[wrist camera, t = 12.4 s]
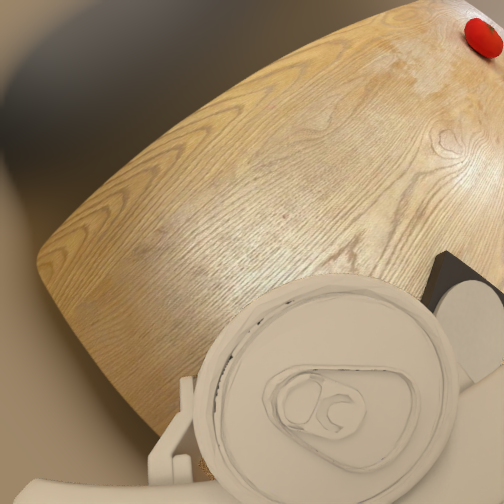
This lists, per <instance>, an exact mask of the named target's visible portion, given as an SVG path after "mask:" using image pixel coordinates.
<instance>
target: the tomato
mask: <svg viewBox="0 0 504 504" xmlns="http://www.w3.org/2000/svg"><path fill="white" fill-rule="evenodd" d="M464 32H465V37H466V40H467V42H468V44H469V45H470V46H471V47H472V48H473V49H474V50H476V51H477V52H478V53H479V54H481V55H483V56H484V57H486V58H496V57H497V56H499V55H500V54H501V52H502V49H503V41H502V39H501V37H500V36H499V35H498V33H497V32H496V31H495V29H494V28H493V27H492V26H491V25H489V24H487V23H486V22H484V21H482V20H481V19H479V18H474V19H470V20H469V21H468V22H467V23H466V26H465V29H464Z"/></svg>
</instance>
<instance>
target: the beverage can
mask: <svg viewBox="0 0 504 504" xmlns="http://www.w3.org/2000/svg"><path fill="white" fill-rule="evenodd" d="M459 388H460V385H459V374H458V365H457V361H456V357H455V354H454V350H453V348H452V346H451V344H450V341H449V339H448V337H447V335H446V333H445V331H444V329H443V328H442V326H441V324H440V323H439V321H438V320H437V319H436V317H435V316H434V315H433V314H432V313H431V312H430V311H429V310H428V309H427V308H426V307H425V306H424V305H423V304H422V303H421V302H420V301H419V300H417V299H416V298H415V297H414V296H412V295H411V294H409V293H408V292H406V291H404V290H402V289H400V288H398V287H396V286H394V285H392V284H390V283H387V282H385V281H383V280H380V279H378V278H374V277H369V276H363V275H356V274H350V273H328V274H320V275H312V276H309V277H305V278H301V279H298V280H294V281H291V282H288V283H286V284H283V285H281V286H279V287H276V288H274V289H272V290H270V291H268V292H267V293H265V294H263V295H261V296H260V297H258V298H257V299H255V300H254V301H253V302H251V303H250V304H248V305H247V306H245V307H244V308H243V309H242V310H241V311H240V312H239V313H238V314H237V315H236V316H235V317H234V318H233V319H232V320H231V321H230V322H229V323H228V324H227V325H226V326H225V327H224V328H223V330H222V331H221V332H220V333H219V335H218V336H217V338H216V339H215V341H214V342H213V344H212V345H211V347H210V348H209V350H208V352H207V354H206V356H205V359H204V361H203V363H202V366H201V368H200V370H199V373H198V377H197V382H196V386H195V391H194V396H193V423H194V432H195V436H196V440H197V443H198V446H199V449H200V452H201V454H202V457H203V458H204V460H205V462H206V464H207V466H208V468H209V470H210V472H211V473H212V474H213V475H214V477H215V478H216V479H217V481H218V482H219V483H220V484H221V486H222V487H223V488H224V489H225V490H226V491H227V492H229V493H230V494H231V495H232V496H234V497H235V498H236V499H237V500H239V501H240V502H241V503H243V504H391V503H392V502H394V501H395V500H397V499H398V498H400V497H401V496H403V495H404V494H405V493H407V492H408V491H409V490H410V489H411V488H412V487H413V486H414V485H415V484H416V483H417V482H418V481H419V480H420V479H421V478H422V477H423V476H424V475H425V474H426V473H427V472H428V471H429V470H430V468H431V467H432V466H433V464H434V463H435V461H436V460H437V458H438V457H439V455H440V454H441V452H442V450H443V449H444V447H445V445H446V443H447V441H448V439H449V436H450V434H451V431H452V428H453V425H454V421H455V417H456V413H457V409H458V401H459Z"/></svg>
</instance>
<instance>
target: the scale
mask: <svg viewBox="0 0 504 504" xmlns="http://www.w3.org/2000/svg"><path fill="white" fill-rule="evenodd" d="M421 303H422V304H423V305H424V306H425V307H426V308H427V309H428V310H429V311H430V312H431V313H432V314H433V315H434V316H435V317H436V319H437V320H438V321H439V323H440V324H441V326H442V328H443V329H444V331H445V333H446V335H447V337H448V339H449V341H450V344H451V346H452V348H453V350H454V354H455V357H456V361H457V363H459V364H460V365H461V366H462V367H463V368H464V370H465V371H466V372H467V374H468V375H469V376H470V377H471V379H472V380H473V381H474V383H477V382H478V381H480V380H481V379H483V378H484V377H486V376H487V375H489V374H490V373H492V372H493V371H494V370H496V369H497V368H499V367H500V366H501V364H502V361H503V359H504V294H503V293H502V292H501V291H500V290H498V289H497V288H496V287H495V286H493V285H492V284H491V283H490V282H488V281H487V280H486V279H485V278H483V277H482V276H481V275H479V274H478V273H477V272H475V271H474V270H473V269H471V268H470V267H469V266H467V265H466V264H465V263H463V262H462V261H461V260H459V259H458V258H457V257H455V256H454V255H452V254H451V253H450V252H448V251H447V250H446V251H444V252H442V253H440V254H438V255H437V256H436V258H435V262H434V265H433V268H432V271H431V274H430V277H429V280H428V283H427V286H426V288H425V291H424V294H423V297H422V299H421Z"/></svg>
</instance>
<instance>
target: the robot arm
mask: <svg viewBox="0 0 504 504" xmlns="http://www.w3.org/2000/svg"><path fill="white" fill-rule="evenodd" d="M457 365H458V374H459V385H460V388H459V401H458V409H457V413H456V417H455V421H454V425H453V428H452V431H451V434H450V436H449V439H448V441H447V443H446V445H445V447H444V449H443V450H442V452H441V454H440V455H439V457H438V458H437V460H436V461H435V463H434V464H433V466H432V467H431V468H430V470H429V471H428V472H427V473H426V474H425V475H424V476H423V477H422V478H421V479H420V480H419V481H418V482H417V483H416V484H415V485H414V486H413V487H412V488H411V489H410V490H409V491H408V492H407V493H405V494H404V495H403V496H401V497H400V498H398V499H397V500H395V501H394V502H392V503H391V504H504V364H503V365H501V366H500V367H499V368H497V369H496V370H494V371H493V372H492V373H490V374H489V375H487V376H486V377H484V378H483V379H481V380H480V381H478V382H477V383H474V381H473V380H472V379H471V377H470V376H469V375H468V374H467V372H466V371H465V370H464V368H463V367H462V366H461V365H460V364H459V363H457ZM197 377H198V375H193V376H187V377H181V378H180V412H179V413H177V414H176V415H175V417H174V418H173V420H172V421H171V423H170V424H169V426H168V427H167V429H166V430H165V432H164V433H163V435H162V436H161V438H160V439H159V441H158V442H157V444H156V445H155V447H154V448H153V450H152V451H151V453H150V454H149V456H148V486H113V485H111V486H110V485H92V484H80V483H71V482H62V481H55V480H48V479H41V478H37V479H34V480H33V481H31V482H30V483H29V484H28V485H27V486H26V487H25V488H24V489H23V490H22V491H21V493H19V495H18V496H17V497H16V498H15V500H14V502H13V504H243V503H241V502H240V501H239V500H237V499H236V498H235V497H234V496H232V495H231V494H230V493H229V492H227V491H226V490H225V489H224V488H223V487H222V486H221V484H220V483H219V482H218V481H217V480H211V481H210V477H209V476H208V475H207V474H206V473H205V472H204V471H203V470H202V469H201V468H200V466H199V465H198V464H199V462H200V460H201V458H202V454H201V452H200V449H199V446H198V443H197V440H196V436H195V432H194V423H193V396H194V391H195V386H196V382H197Z"/></svg>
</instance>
